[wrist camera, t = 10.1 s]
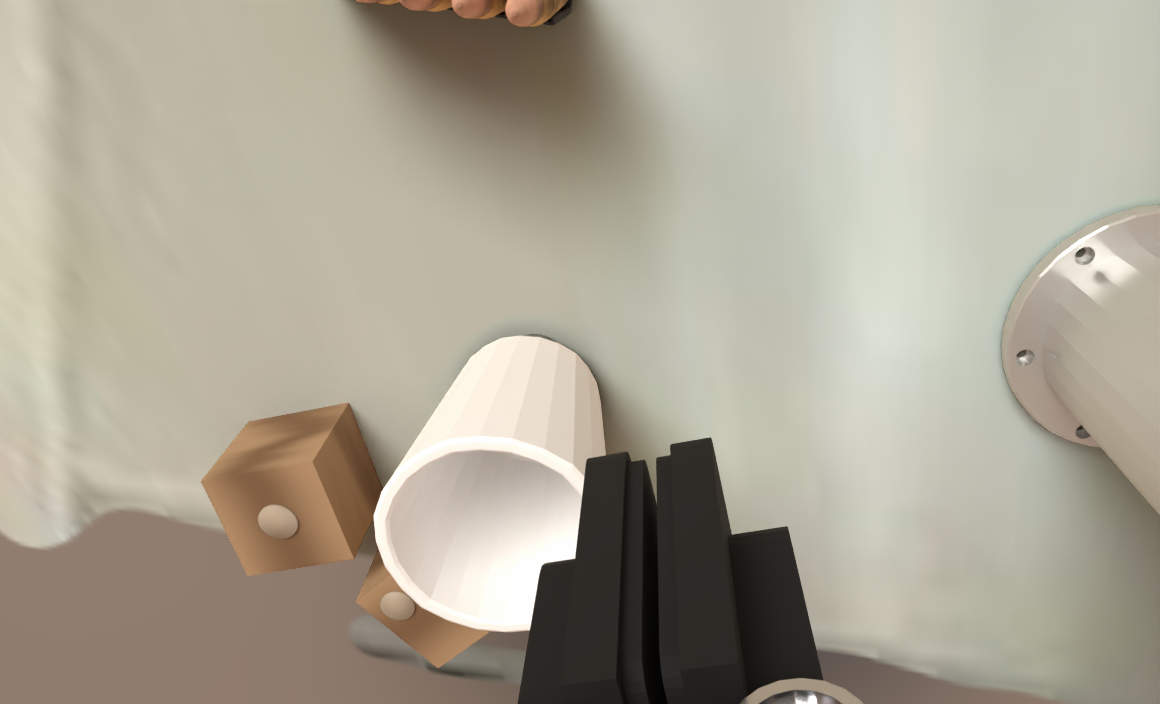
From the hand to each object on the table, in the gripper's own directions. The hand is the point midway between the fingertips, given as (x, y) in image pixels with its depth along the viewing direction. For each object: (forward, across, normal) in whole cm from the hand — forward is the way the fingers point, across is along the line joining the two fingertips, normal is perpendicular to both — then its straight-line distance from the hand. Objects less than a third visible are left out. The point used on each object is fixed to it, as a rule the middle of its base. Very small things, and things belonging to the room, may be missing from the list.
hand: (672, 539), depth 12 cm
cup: (+32, +10, +13) cm, 36 cm away
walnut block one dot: (+32, +22, +15) cm, 42 cm away
